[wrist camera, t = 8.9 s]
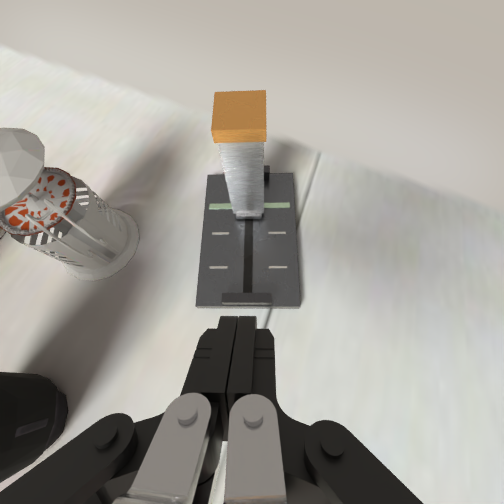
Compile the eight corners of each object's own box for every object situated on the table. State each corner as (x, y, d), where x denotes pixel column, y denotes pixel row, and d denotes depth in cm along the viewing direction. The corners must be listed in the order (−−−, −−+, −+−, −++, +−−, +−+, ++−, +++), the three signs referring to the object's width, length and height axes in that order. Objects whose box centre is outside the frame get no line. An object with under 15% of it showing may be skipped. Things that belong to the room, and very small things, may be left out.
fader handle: (233, 188, 32) (214, 90, 20) (265, 187, 32) (265, 88, 20) (232, 219, 30) (210, 132, 18) (265, 218, 30) (266, 130, 18)
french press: (106, 195, 34) (-223, -134, 11) (165, 245, 31) (-122, -70, 8) (44, 248, 32) (-547, -34, 9) (102, 308, 29) (-585, 115, 6)
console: (209, 180, 34) (205, 166, 32) (291, 178, 34) (294, 164, 31) (198, 308, 28) (191, 303, 26) (299, 308, 28) (302, 303, 25)
